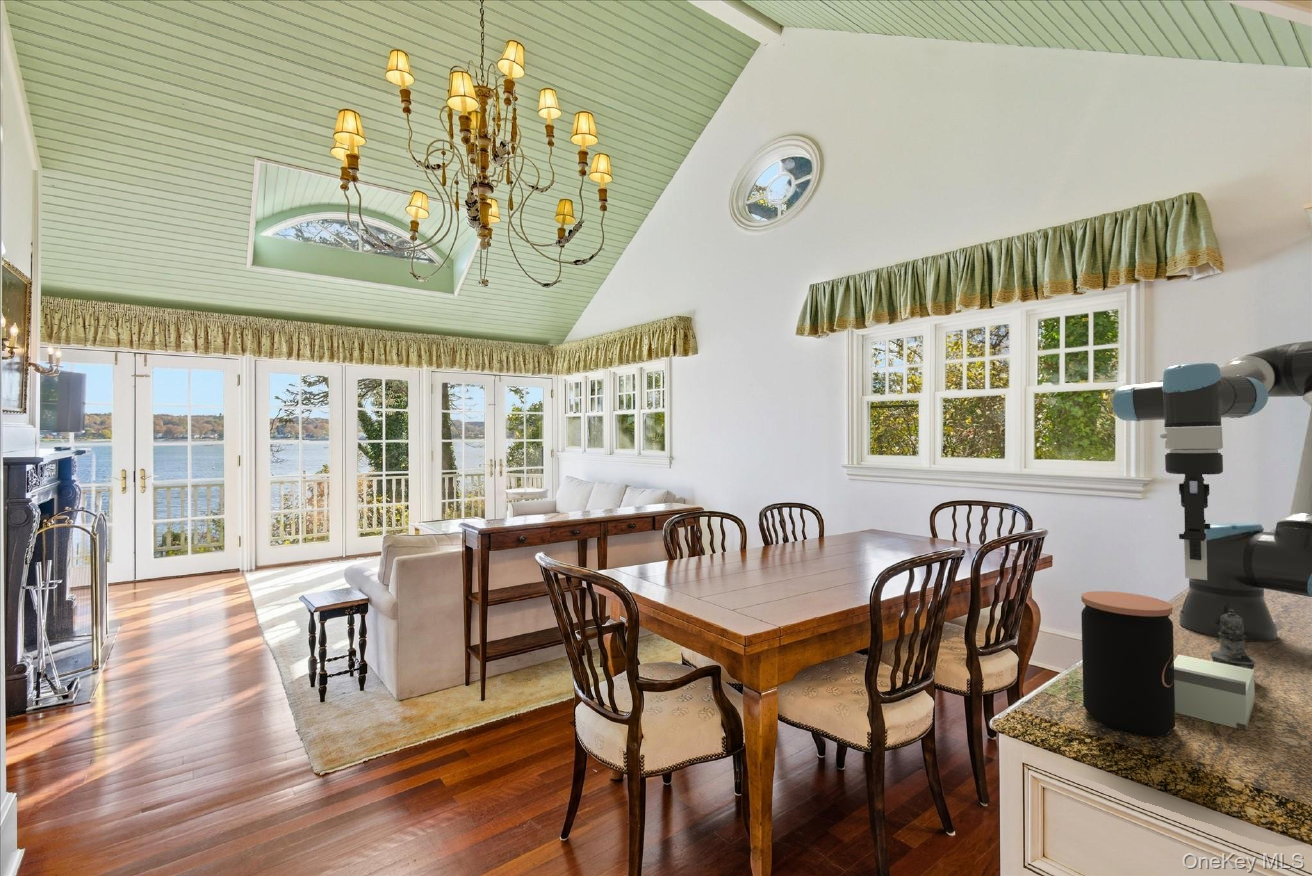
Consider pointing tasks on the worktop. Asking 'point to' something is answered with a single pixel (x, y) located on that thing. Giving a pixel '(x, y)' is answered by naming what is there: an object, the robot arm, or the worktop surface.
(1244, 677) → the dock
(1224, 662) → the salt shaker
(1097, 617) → the coffee jar
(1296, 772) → the worktop surface
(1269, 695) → the worktop surface
